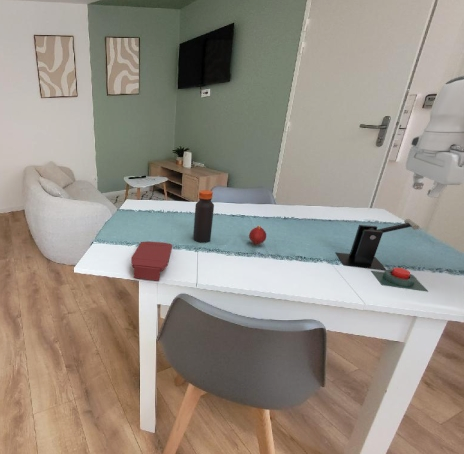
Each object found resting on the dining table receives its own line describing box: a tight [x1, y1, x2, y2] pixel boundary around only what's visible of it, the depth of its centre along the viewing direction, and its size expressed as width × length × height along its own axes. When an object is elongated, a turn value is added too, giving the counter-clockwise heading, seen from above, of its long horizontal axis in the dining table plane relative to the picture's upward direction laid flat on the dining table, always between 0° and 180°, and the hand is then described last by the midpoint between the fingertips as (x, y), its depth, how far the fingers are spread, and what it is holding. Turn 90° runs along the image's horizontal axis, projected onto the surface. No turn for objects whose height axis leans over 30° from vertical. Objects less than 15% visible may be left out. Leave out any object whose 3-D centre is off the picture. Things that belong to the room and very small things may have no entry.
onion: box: [248, 225, 267, 246], centre depth 110 cm, size 6×6×8 cm
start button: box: [391, 267, 411, 279], centre depth 84 cm, size 4×4×2 cm
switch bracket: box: [335, 224, 387, 272], centre depth 93 cm, size 11×9×13 cm
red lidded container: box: [130, 240, 173, 282], centre depth 104 cm, size 12×5×25 cm
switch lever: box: [361, 218, 420, 234], centre depth 89 cm, size 12×5×2 cm, turn 67°
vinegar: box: [192, 189, 215, 243], centre depth 114 cm, size 7×7×20 cm
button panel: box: [370, 268, 429, 293], centre depth 84 cm, size 10×8×3 cm
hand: (424, 192), depth 82 cm, fingers open, 7 cm apart
